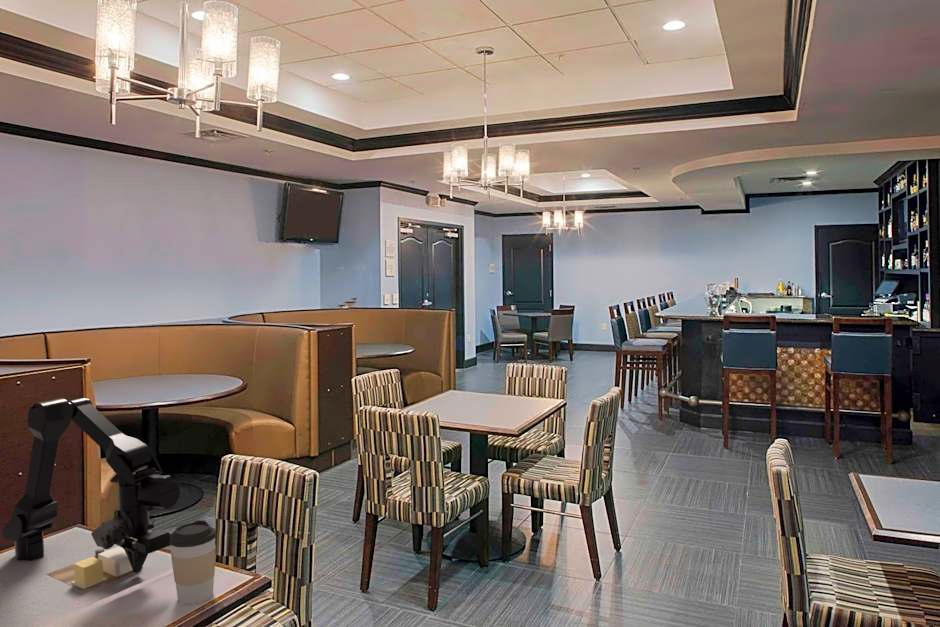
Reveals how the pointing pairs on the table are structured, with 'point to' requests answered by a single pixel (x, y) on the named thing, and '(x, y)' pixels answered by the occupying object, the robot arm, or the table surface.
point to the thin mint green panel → (89, 584)
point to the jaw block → (88, 571)
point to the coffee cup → (193, 561)
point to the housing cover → (115, 561)
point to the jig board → (68, 577)
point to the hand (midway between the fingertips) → (137, 572)
